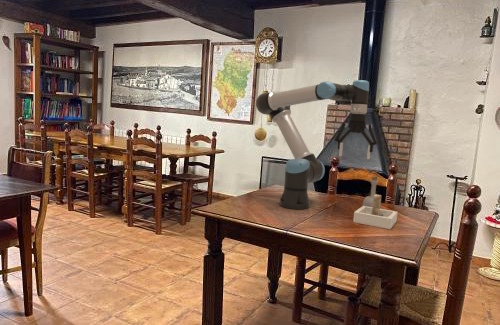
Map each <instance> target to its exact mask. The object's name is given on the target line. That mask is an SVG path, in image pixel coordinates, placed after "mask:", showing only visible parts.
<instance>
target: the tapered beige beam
mask: <svg viewBox="0 0 500 325" xmlns="http://www.w3.org/2000/svg"><path fill="white" fill-rule="evenodd" d="M381 202H382V195H381V194H375V195H374V199H373V208H372V215H377V216H379V214H380V209H381V207H380V205H381V206H382V203H381Z"/></svg>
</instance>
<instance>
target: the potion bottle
mask: <svg viewBox="0 0 500 325" xmlns="http://www.w3.org/2000/svg"><path fill="white" fill-rule="evenodd" d="M378 177H379V176H378V175H374V176H371V179H370V184H371V187H370V188H371V189H370V195H369V196H366V197H365V198H364V199H363V202H362V206H367V207H373V199H374V195H376V189H377V185H378V184H379V180H378ZM381 206H382V204H381V205H380V208H381Z"/></svg>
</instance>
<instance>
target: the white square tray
mask: <svg viewBox="0 0 500 325" xmlns="http://www.w3.org/2000/svg"><path fill="white" fill-rule="evenodd" d="M372 208H373V207H367V206H363V205H362V206H361V207H360V208H358V209H356V210H355V211H354V212H353V222H352V223H354V224H355V223H357V224H362V225H366V226H372V227H376V228H381V229H385V230H387V229H388V230H391V229H392V228H393V226H395V224H396V223H397V220H398V211H395V210H389V209H385V208H380V214H379V216H377V215H372Z"/></svg>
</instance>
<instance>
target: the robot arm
mask: <svg viewBox="0 0 500 325" xmlns="http://www.w3.org/2000/svg"><path fill="white" fill-rule="evenodd" d="M352 82H353V83H352V84H339V83H335V82H332V81H322V82H320V83H318V84H313V85H310V86H309V85H307V86H305V87H299V88H295V89H294V88H293V89H288V90H284V91H279V92H275V91H269V92H263V93H261V94H259V95H258V96H257V98H256V100H255V107H256V109H257V111H258V112H259V113H261V114H262V115H265V116H266V115H268V116H269V117H270V119H271V121H272V122H274V123H275V124H276V125H277V128H278V129H279V131H280V133H281V134H282V137H283V139H284V140H285V142H286V144H287V147H288V148H289V150H290V153H291V154H292V156H293V158H290V159H288V160H287V161H286V162H285V163H286V164H285V168H284V171H285V172H284V186H283V192H282V193H281V195H280V196H281V197H280V199H279V206H281V207H283V208H287V209H290V210H305V209H306V210H307V209H309V208H310V207H311V206H310V204H311V202H310V198H309V193H308V187H309V186H308V185H309V184H311V183H312V184H313V183H316V182H318V181H320V180H321V179H323V177H324V176H325V173H326V172H325V171H326V169H325V165H324V163H323V162H322V160H321V161H320V159H318V158H316V155H315V154H314V153H312V152H310V150H309V149H308V146H307V144H306V143H305V141H304V139H303V137H302V135H301V133H300V132H299V130H298V128H297V126H296V124H295V122H294V120H293V118H292V117H291V114H292V110H291V106H296V105H301V104H308V103H311V102H317V101H323V100H324V101H325V100H331V101H335V102H336V101H348V102H349V101H350V114H349V122H348V123H347V122H343V123H342V125H341V128H340V129H339V131H338V133H337V135H336V136H335V138H334V141H335V142H337V149H338V150H339V151H338V156H339V157H342V156H343V149H344V147H343V146H344V140H345V139H346V138H347V137H348V136H349V135H350V134H352V133H353V134H355V133H357V134H361V135H363V137H364V139H365V140H366V141H367V143H368V144H369V145H367V154H366V159H367V160H371V159H370V158H371V153H373V151H374V146H376V145H378V140H377V138H376V135H375V132H374V130H373V124H372V123H371V124H366V122H367V111H368V101H369V94H370V93H369V92H370V82H369V81H368V80H362V79H361V80H357V79H356V80H353V81H352ZM347 127H348V128H349V129H348V130H347V131H346V132H345V133H344V131H345V130H346V129H347ZM365 129H367V130H368V132H369V134H370V136H371V138H370V137H369V135H368V133H367V132H366V130H365ZM343 133H344V134H343Z"/></svg>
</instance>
